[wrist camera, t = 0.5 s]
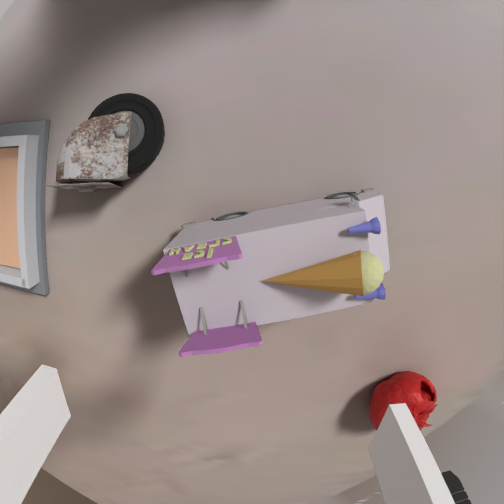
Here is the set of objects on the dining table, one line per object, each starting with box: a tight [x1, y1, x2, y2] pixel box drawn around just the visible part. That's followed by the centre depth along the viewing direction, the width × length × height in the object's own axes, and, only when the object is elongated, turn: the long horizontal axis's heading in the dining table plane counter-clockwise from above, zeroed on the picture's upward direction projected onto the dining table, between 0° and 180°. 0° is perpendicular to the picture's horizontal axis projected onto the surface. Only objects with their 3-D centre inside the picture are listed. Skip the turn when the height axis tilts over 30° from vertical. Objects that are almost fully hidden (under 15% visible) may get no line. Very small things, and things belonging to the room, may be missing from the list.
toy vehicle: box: [151, 188, 390, 357], centre depth 27 cm, size 9×20×15 cm, turn 101°
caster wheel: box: [47, 93, 165, 192], centre depth 29 cm, size 7×11×10 cm
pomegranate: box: [370, 371, 437, 431], centre depth 36 cm, size 10×10×9 cm
